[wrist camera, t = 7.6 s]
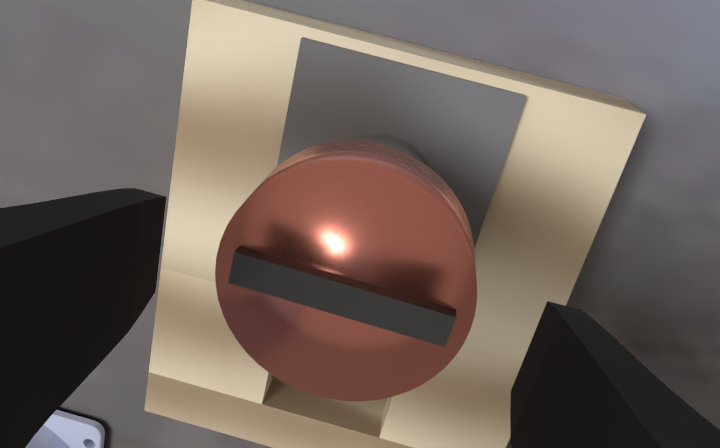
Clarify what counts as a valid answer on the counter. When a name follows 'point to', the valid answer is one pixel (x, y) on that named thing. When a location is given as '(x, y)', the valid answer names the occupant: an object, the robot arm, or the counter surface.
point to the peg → (350, 271)
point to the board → (438, 150)
